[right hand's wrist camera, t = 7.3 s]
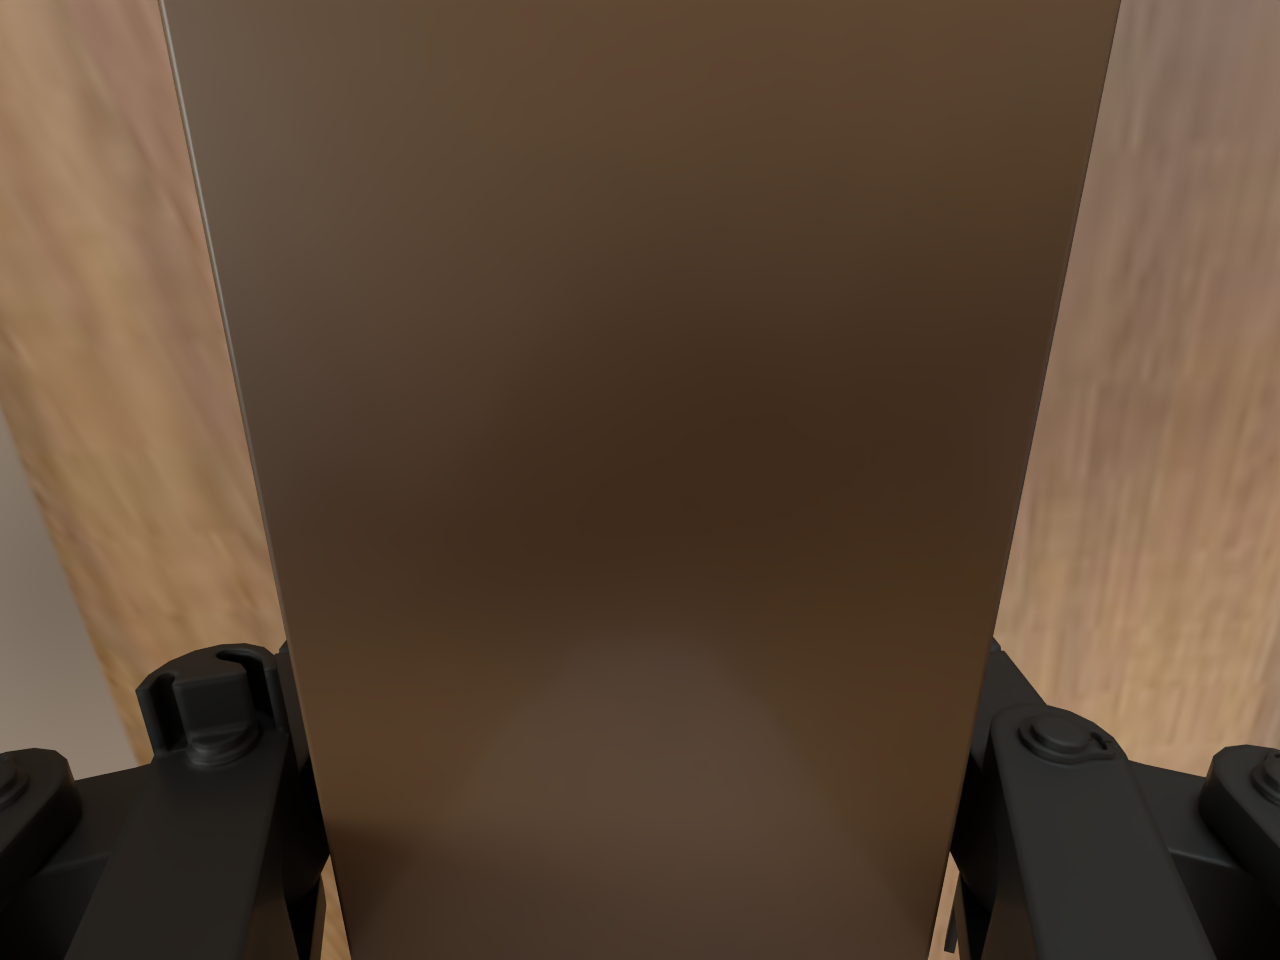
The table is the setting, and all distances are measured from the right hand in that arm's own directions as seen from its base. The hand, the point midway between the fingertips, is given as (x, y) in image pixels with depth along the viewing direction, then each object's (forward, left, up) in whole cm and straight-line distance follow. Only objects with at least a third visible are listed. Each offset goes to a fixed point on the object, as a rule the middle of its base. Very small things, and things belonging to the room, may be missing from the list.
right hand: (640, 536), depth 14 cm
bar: (+10, 0, -1) cm, 10 cm away
